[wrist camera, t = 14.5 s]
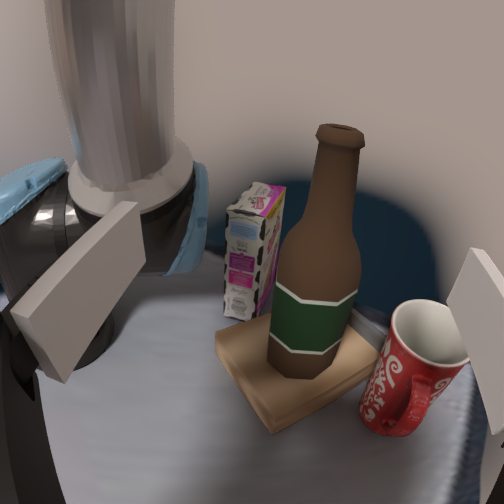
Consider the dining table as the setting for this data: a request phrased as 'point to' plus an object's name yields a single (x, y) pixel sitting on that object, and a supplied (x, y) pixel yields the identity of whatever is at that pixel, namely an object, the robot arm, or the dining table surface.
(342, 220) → the beer bottle
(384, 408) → the mug
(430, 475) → the dining table surface
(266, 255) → the candy bar box
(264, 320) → the shelf step
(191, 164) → the robot arm
